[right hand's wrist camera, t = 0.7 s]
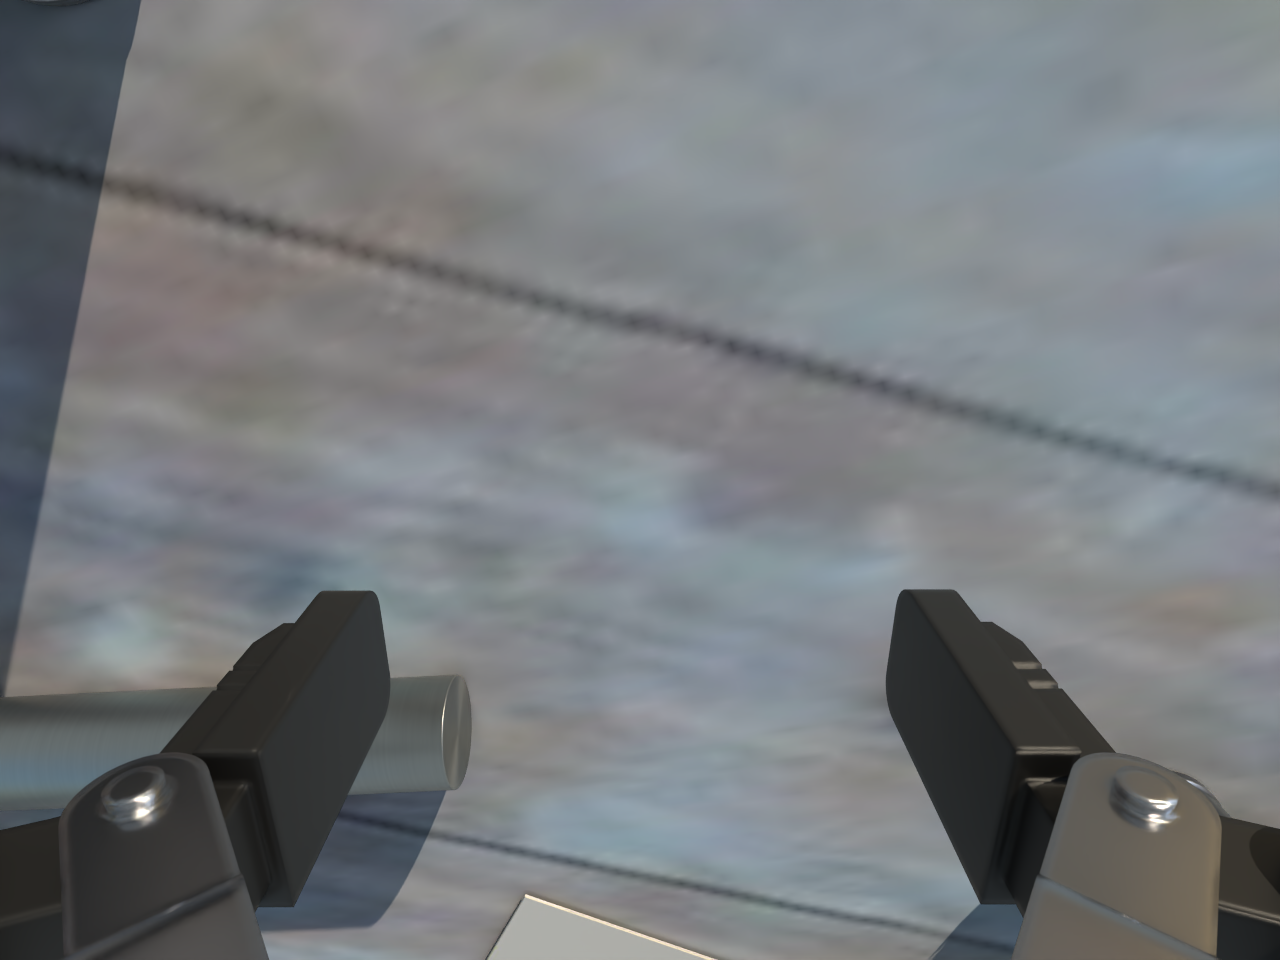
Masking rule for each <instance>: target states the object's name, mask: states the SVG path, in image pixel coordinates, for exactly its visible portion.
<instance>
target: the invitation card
mask: <svg viewBox="0 0 1280 960" xmlns="http://www.w3.org/2000/svg"><path fill="white" fill-rule="evenodd" d="M486 960H716V959H713V958H710V957H707V956H704V955H701V954H698V953H695V952H692V951H689V950H687V949H684V948H681V947H678V946H675V945H672V944H669V943H666V942H663V941H660V940H657V939H654V938H652V937H649V936H646V935H643V934H640V933H637V932H634V931H631V930H628V929H625V928H622V927H619V926H617V925H614V924H611V923H608V922H605V921H602V920H599V919H596V918H593V917H590V916H587V915H584V914H582V913H579V912H576V911H573V910H570V909H567V908H564V907H561V906H558V905H555V904H552V903H549V902H546V901H544V900H541V899H538V898H535V897H532V896H529V895H526V894H525V896H524V897H523V899H522V901H521V902H520V904H519V906H518V907H517V909H516V911H515V912H514V914H513V916H512V917H511V919H510V921H509V923H508V924H507V926H506V928H505V929H504V931H503V933H502V934H501V936H500V938H499V939H498V941H497V943H496V944H495V946H494V948H493V949H492V951H491V953H490V954H489V956H488V958H487V959H486Z"/></svg>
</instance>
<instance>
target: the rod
mask: <svg viewBox="0 0 1280 960" xmlns="http://www.w3.org/2000/svg"><path fill="white" fill-rule="evenodd" d="M213 690H217V687H202V688H181V689H161V690H141V691H121V692H100V693H80V694H60V695H40V696H19V697H0V811H16V810H38V809H59V808H66V806H67V804H68V803H69V802H70V801H71V800H72V799H73V797H74V796H75V795H76V794H77V793H78V792H79V791H81V790H82V789H83V788H84V787H85V786H86V785H88V784H89V783H91V782H92V781H93V780H95V779H96V778H98V777H99V776H101V775H103V774H104V773H106V772H108V771H110V770H112V769H114V768H116V767H118V766H120V765H122V764H125V763H127V762H130V761H132V760H135V759H139V758H142V757H145V756H150V755H154V754H159V753H160V752H161V751H162V749H163V748H164V747H165V746H166V745H167V744H168V742H169V741H170V740H171V739H172V738H173V737H174V735H175V734H176V733H177V732H178V731H179V729H180V728H181V727H182V726H183V725H184V724H185V722H186V721H187V720H188V719H189V718H190V717H191V715H192V714H193V713H194V712H195V711H196V709H197V708H198V707H199V706H200V705H201V704H202V702H203V701H204V700H205V699H206V698H207V697H208V695H209V694H210V693H211V692H212V691H213ZM470 746H471V706H470V698H469V693H468V689H467V685H466V683H465V680H464V679H463V677H462V676H460V675H444V676H424V677H404V678H390V698H389V704H388V709H387V712H386V716H385V718H384V720H383V723H382V725H381V727H380V729H379V731H378V733H377V735H376V737H375V739H374V741H373V743H372V745H371V747H370V750H369V752H368V754H367V756H366V758H365V760H364V762H363V764H362V766H361V768H360V770H359V772H358V775H357V777H356V779H355V781H354V783H353V785H352V787H351V789H350V791H349V793H348V795H358V794H380V793H401V792H423V791H444V790H456V789H458V788H459V787H460V786H461V784H462V782H463V780H464V777H465V774H466V770H467V766H468V761H469V755H470Z"/></svg>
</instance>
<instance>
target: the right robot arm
mask: <svg viewBox="0 0 1280 960" xmlns="http://www.w3.org/2000/svg"><path fill="white" fill-rule="evenodd" d="M886 695H887V701H888V706H889V710H890V713H891V716H892V719H893V721H894V723H895V725H896V727H897V729H898V731H899V733H900V735H901V738H902V740H903V742H904V744H905V746H906V748H907V750H908V752H909V754H910V756H911V759H912V761H913V763H914V765H915V767H916V769H917V771H918V773H919V775H920V778H921V780H922V782H923V784H924V786H925V788H926V790H927V792H928V794H929V796H930V799H931V801H932V803H933V805H934V807H935V809H936V811H937V813H938V815H939V817H940V820H941V822H942V824H943V826H944V828H945V830H946V832H947V834H948V836H949V839H950V841H951V843H952V845H953V847H954V849H955V851H956V853H957V855H958V857H959V860H960V862H961V864H962V866H963V868H964V870H965V872H966V874H967V876H968V878H969V881H970V883H971V885H972V887H973V889H974V891H975V893H976V895H977V897H978V900H979V902H980V904H1016V905H1017V907H1018V909H1019V911H1020V913H1021V914H1022V916H1023V918H1024V919H1023V922H1022V925H1021V928H1020V932H1019V935H1018V938H1017V941H1016V945H1015V948H1014V951H1013V954H1012V958H1011V960H1280V829H1277V828H1273V827H1268V826H1264V825H1259V824H1255V823H1251V822H1246V821H1242V820H1237V819H1233V818H1231V817H1230V816H1229V815H1228V814H1227V812H1226V811H1225V810H1224V809H1223V808H1222V807H1221V805H1220V803H1219V802H1218V800H1217V799H1216V798H1215V797H1214V796H1213V795H1212V794H1211V793H1210V791H1209V790H1208V789H1207V788H1206V787H1205V786H1204V785H1203V784H1201V783H1200V782H1198V781H1197V780H1195V779H1194V778H1192V777H1189V776H1187V775H1185V774H1181V773H1178V772H1173V771H1170V770H1168V769H1166V768H1164V767H1162V766H1160V765H1158V764H1155V763H1153V762H1150V761H1148V760H1145V759H1141V758H1138V757H1135V756H1130V755H1126V754H1119V753H1116V752H1115V751H1114V750H1113V749H1112V747H1111V746H1110V745H1109V744H1108V743H1107V742H1106V740H1105V739H1104V738H1103V737H1102V736H1101V734H1100V733H1099V732H1098V731H1097V730H1096V728H1095V727H1094V726H1093V725H1092V724H1091V723H1090V721H1089V720H1088V719H1087V718H1086V717H1085V715H1084V714H1083V713H1082V712H1081V711H1080V709H1079V708H1078V707H1077V706H1076V705H1075V704H1074V702H1073V701H1072V700H1071V699H1070V698H1069V696H1068V695H1067V694H1066V693H1065V692H1064V690H1063V689H1058V683H1057V682H1056V681H1055V680H1054V679H1053V677H1052V676H1051V675H1050V674H1049V673H1048V671H1047V670H1046V669H1042V664H1041V663H1040V662H1039V661H1038V660H1037V658H1036V657H1035V656H1034V655H1033V654H1032V652H1031V651H1030V650H1029V649H1028V648H1027V646H1026V645H1025V644H1024V643H1023V642H1022V641H1021V640H1019V639H1018V638H1016V637H1015V636H1013V635H1011V634H1010V633H1008V632H1007V631H1005V630H1004V629H1002V628H1001V627H999V626H997V625H996V624H994V623H993V622H980V620H979V619H978V618H977V617H976V615H975V614H974V613H973V612H972V610H971V609H970V608H969V606H968V605H967V604H966V603H965V601H964V600H963V599H962V597H961V596H960V595H959V594H958V593H957V592H956V591H955V590H903V591H901V593H900V594H899V597H898V600H897V604H896V610H895V617H894V624H893V631H892V638H891V645H890V652H889V659H888V666H887V673H886ZM389 698H390V672H389V665H388V659H387V652H386V645H385V638H384V631H383V624H382V618H381V611H380V605H379V601H378V598H377V595H376V594H375V593H374V592H373V591H321V592H320V593H319V594H318V595H317V596H316V597H315V598H314V600H313V601H312V602H311V603H310V605H309V606H308V607H307V608H306V610H305V611H304V612H303V613H302V615H301V616H300V617H299V618H298V620H297V621H296V622H295V623H283V624H282V625H280V626H279V627H277V628H276V629H274V630H272V631H271V632H269V633H268V634H266V635H265V636H263V637H262V638H260V639H258V640H257V641H255V642H254V643H253V644H252V645H251V646H250V647H249V648H248V649H247V651H246V652H245V653H244V654H243V655H242V656H241V658H240V659H239V660H238V661H237V662H236V664H235V665H234V666H233V671H229V672H228V673H227V674H226V675H225V676H224V678H223V679H222V680H221V681H220V682H219V684H218V685H217V690H213V691H212V692H211V693H210V694H209V695H208V697H207V698H206V699H205V700H204V701H203V702H202V704H201V705H200V706H199V707H198V708H197V709H196V711H195V712H194V713H193V714H192V715H191V717H190V718H189V719H188V720H187V721H186V722H185V724H184V725H183V726H182V727H181V728H180V729H179V731H178V732H177V733H176V734H175V735H174V737H173V738H172V739H171V740H170V741H169V742H168V744H167V745H166V746H165V747H164V748H163V749H162V751H161V752H160V753H159V754H154V755H150V756H145V757H142V758H139V759H135V760H132V761H130V762H127V763H125V764H122V765H120V766H118V767H116V768H114V769H112V770H110V771H108V772H106V773H104V774H103V775H101V776H99V777H98V778H96V779H95V780H93V781H92V782H91V783H89V784H88V785H86V786H85V787H84V788H83V789H82V790H81V791H79V792H78V793H77V794H76V795H75V796H74V797H73V799H72V800H71V801H70V802H69V803H68V804H67V806H66V808H65V809H64V811H63V812H62V815H61V816H59V817H56V818H52V819H48V820H43V821H39V822H35V823H30V824H26V825H21V826H17V827H12V828H8V829H4V830H0V960H269V958H268V954H267V951H266V948H265V945H264V941H263V938H262V935H261V932H260V929H259V925H258V922H257V919H256V916H255V912H256V910H257V908H258V907H294V905H295V903H296V901H297V899H298V897H299V895H300V893H301V891H302V889H303V887H304V885H305V883H306V880H307V878H308V876H309V874H310V872H311V870H312V868H313V866H314V864H315V862H316V860H317V858H318V856H319V853H320V851H321V849H322V847H323V845H324V843H325V841H326V839H327V837H328V835H329V833H330V831H331V829H332V826H333V824H334V822H335V820H336V818H337V816H338V814H339V812H340V810H341V808H342V806H343V804H344V802H345V799H346V797H347V795H348V793H349V791H350V789H351V787H352V785H353V783H354V781H355V779H356V777H357V775H358V772H359V770H360V768H361V766H362V764H363V762H364V760H365V758H366V756H367V754H368V752H369V750H370V747H371V745H372V743H373V741H374V739H375V737H376V735H377V733H378V731H379V729H380V727H381V725H382V723H383V720H384V718H385V716H386V712H387V709H388V704H389Z"/></svg>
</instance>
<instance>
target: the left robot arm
mask: <svg viewBox="0 0 1280 960" xmlns="http://www.w3.org/2000/svg"><path fill="white" fill-rule="evenodd" d="M23 1H26V2H30V3H35V4H40V5H48V6H66V5H75V4H79V3H83V2H87V1H89V0H23Z"/></svg>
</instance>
